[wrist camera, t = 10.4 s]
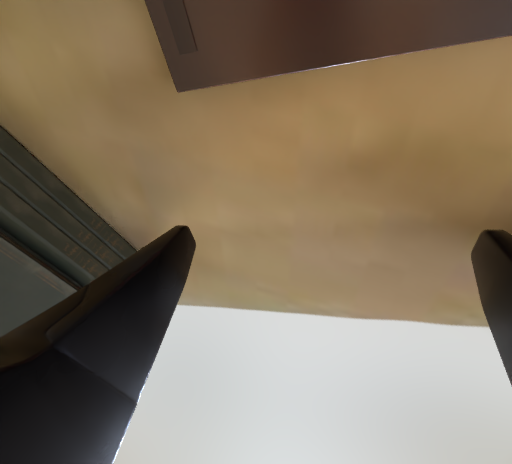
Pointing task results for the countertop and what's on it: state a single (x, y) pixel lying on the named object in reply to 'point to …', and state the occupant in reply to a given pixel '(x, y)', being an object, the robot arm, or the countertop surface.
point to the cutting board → (309, 33)
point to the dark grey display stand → (45, 238)
